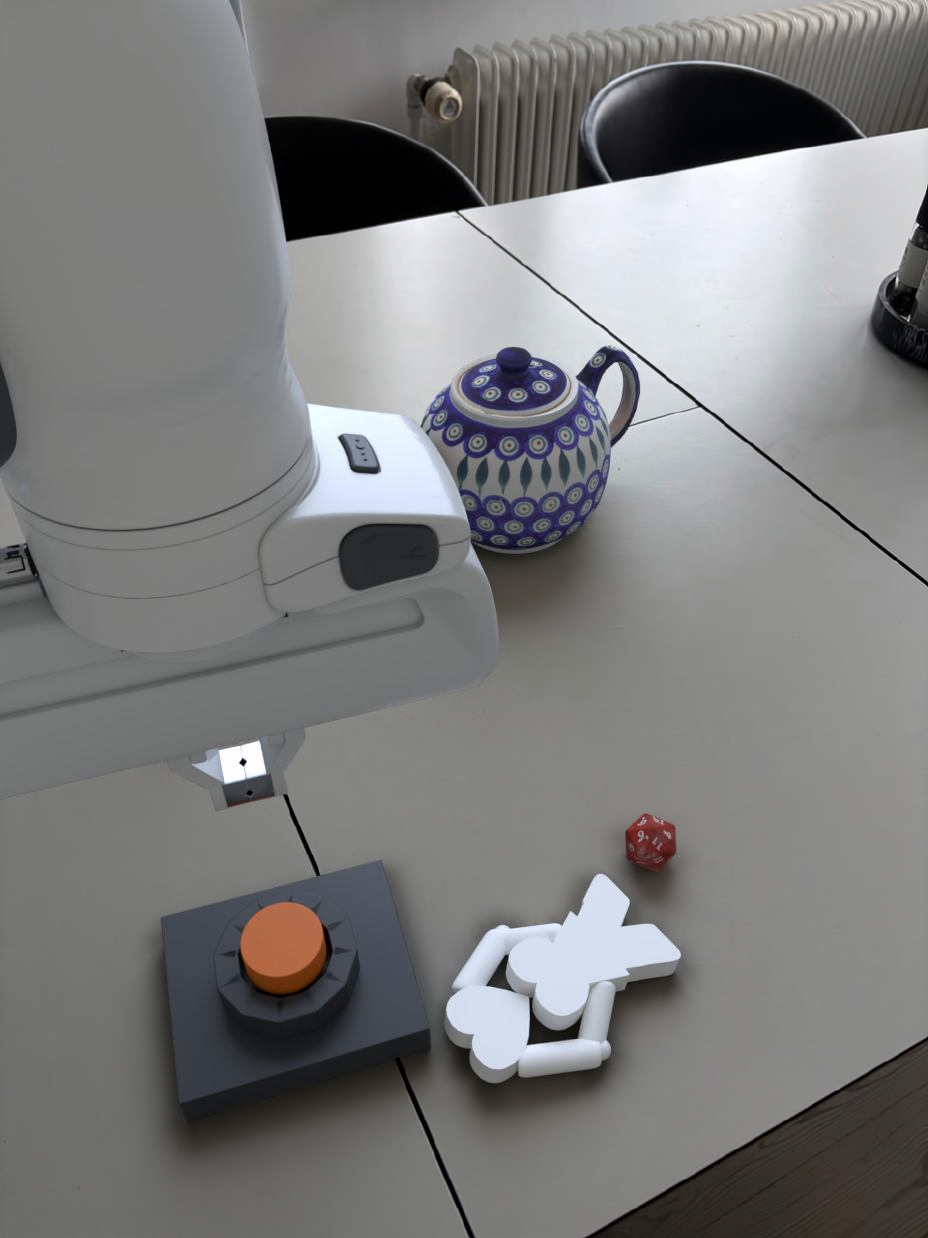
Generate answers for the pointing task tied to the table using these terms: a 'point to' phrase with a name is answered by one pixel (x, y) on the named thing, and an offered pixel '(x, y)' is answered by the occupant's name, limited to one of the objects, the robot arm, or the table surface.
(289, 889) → the control block
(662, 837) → the die
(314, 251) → the table surface
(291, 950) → the button
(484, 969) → the white abstract figurine
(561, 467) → the teapot
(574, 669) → the table surface
